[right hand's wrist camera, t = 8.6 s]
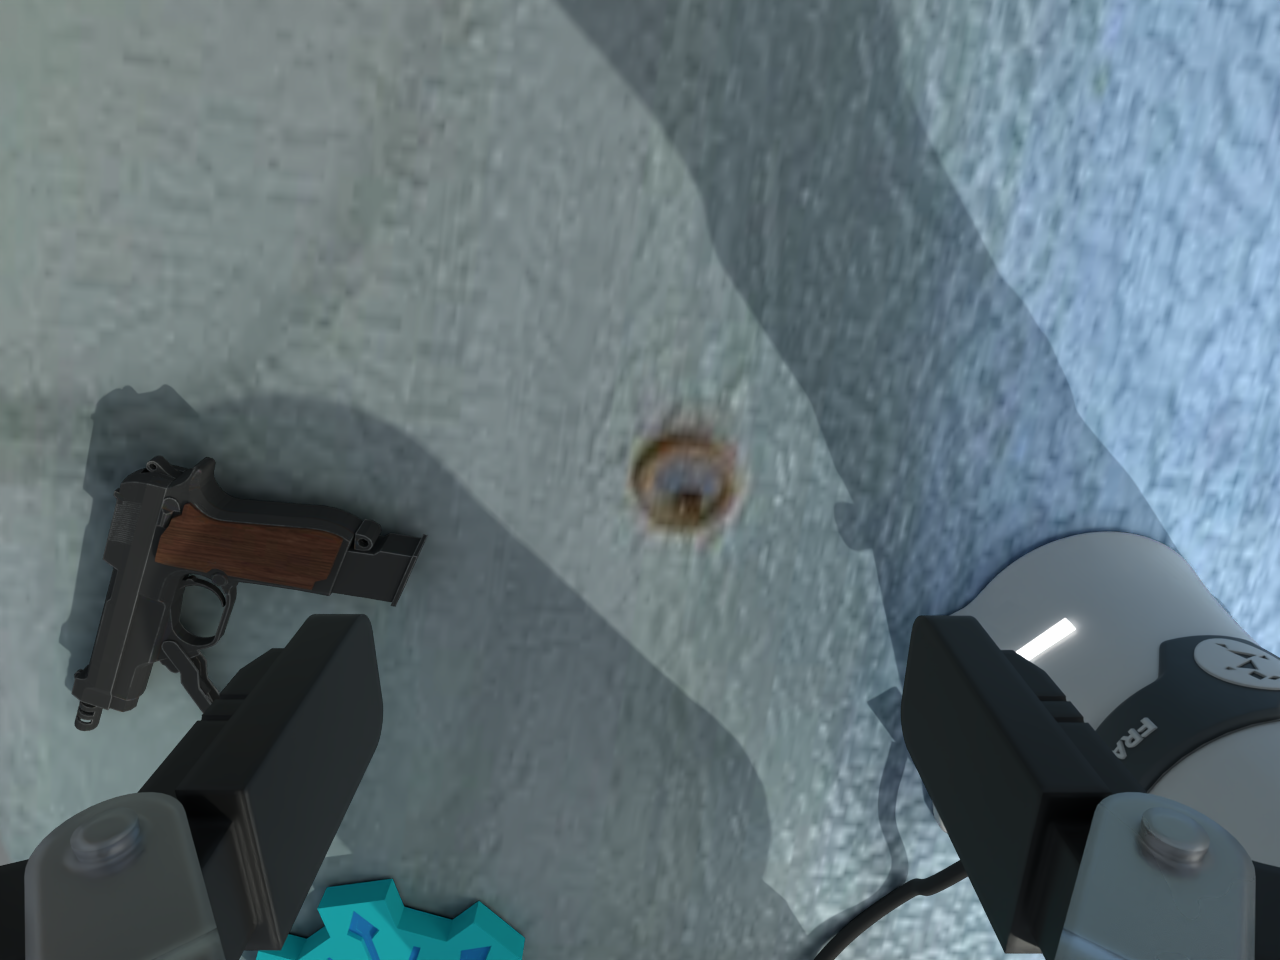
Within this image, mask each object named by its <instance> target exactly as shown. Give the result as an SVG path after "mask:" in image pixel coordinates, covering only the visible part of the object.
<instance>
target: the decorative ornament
mask: <svg viewBox="0 0 1280 960" xmlns="http://www.w3.org/2000/svg"><path fill="white" fill-rule="evenodd" d="M317 909H318V911H319V913H320V916H321V918H322V920H323V922H324V924H325V926H324V927H323V928H321V929H320V930H318V931H317V932H316V933H314V934H313V935H311V936H310V937H309V938H307V939H306V938H302V937H298V936H294V935H290V934H288V936H287V938H286V940H285V943H284V945H283V947H282V949H281V950H259V951H258V954H257V958H256V960H522V955H523V949H524V942H525V938H524V937H523V936H522V935H521V934H519V933H518V932H517V931H516V930H514V929H513V928H512V927H511V926H510V925H508V924H507V923H506V922H505V921H503V920H502V919H501V918H500V917H498V916H497V915H496V914H495V913H493V912H492V911H491V910H490V909H488V908H487V907H486V906H485V905H484V904H482V903H481V902H480V901H478V902H477V903H475V904H474V905H472V906H471V907H470V908H468V909H467V910H465V911H464V912H463V913H461V914H460V915H458V916H457V917H456V918H454V919H453V920H451V919H447V918H444V917H440V916H436V915H433V914H429V913H425V912H422V911H418V910H414V909H411V908H407V907H404V905H403V902H402V900H401V898H400V895H399V893H398V891H397V888H396V886H395V883H394V881H393V879H386V880H378V881H371V882H363V883H356V884H348V885H341V886H333V887H327V888H326V891H325V893H324V895H323V897H322V899H321V902H320V904H319V906H318V908H317Z"/></svg>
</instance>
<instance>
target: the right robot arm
mask: <svg viewBox="0 0 1280 960" xmlns="http://www.w3.org/2000/svg"><path fill="white" fill-rule="evenodd" d="M382 722H383V701H382V694H381V687H380V680H379V673H378V666H377V659H376V652H375V645H374V638H373V631H372V626H371V622H370V620H369V618H368V617H367V616H366V615H364V614H314V615H311V616H310V617H309V618H308V619H307V620H306V621H305V622H304V624H303V625H302V626H301V627H300V629H299V630H298V631H297V633H296V634H295V635H294V637H293V638H292V639H291V640H290V642H289V643H288V644H287V646H286V647H285V648H272V649H270V650H269V651H267V652H266V653H264V654H263V655H261V656H260V657H258V658H257V659H255V660H254V661H252V662H251V663H249V664H248V665H246V666H245V667H243V668H242V669H240V670H239V671H238V673H237V674H236V675H235V676H234V677H233V679H232V680H231V681H230V682H229V683H228V685H227V686H226V687H225V688H224V689H223V691H222V692H221V693H220V694H219V699H215V700H214V701H213V703H212V704H211V705H210V706H209V707H208V709H207V710H206V711H205V712H204V713H203V715H202V720H201V721H197V722H196V723H195V724H194V725H193V727H192V728H191V729H190V730H189V731H188V733H187V734H186V735H185V736H184V737H183V739H182V740H181V741H180V742H179V743H178V745H177V746H176V747H175V748H174V749H173V751H172V752H171V753H170V754H169V755H168V757H167V758H166V759H165V760H164V761H163V763H162V764H161V765H160V766H159V767H158V769H157V770H156V771H155V772H154V773H153V775H152V776H151V777H150V778H149V779H148V781H147V782H146V783H145V784H144V785H143V787H142V788H141V789H140V790H139V791H138V793H133V794H127V795H123V796H119V797H115V798H112V799H109V800H106V801H103V802H101V803H98V804H96V805H94V806H91V807H89V808H87V809H85V810H83V811H82V812H80V813H78V814H76V815H74V816H73V817H71V818H70V819H68V820H66V821H65V822H64V823H62V824H61V825H60V826H58V827H57V828H56V829H54V830H53V831H52V832H51V833H50V834H49V835H48V836H47V837H45V838H44V839H43V840H42V842H41V843H40V844H39V845H38V846H37V847H36V849H35V850H34V852H33V853H32V855H31V856H30V858H29V859H28V860H24V861H19V862H15V863H11V864H7V865H2V866H0V960H239V959H240V957H241V955H242V953H243V951H244V950H281V949H282V947H283V945H284V943H285V940H286V938H287V936H288V934H289V932H290V930H291V928H292V926H293V924H294V921H295V919H296V917H297V915H298V913H299V911H300V909H301V907H302V904H303V902H304V900H305V898H306V896H307V894H308V892H309V890H310V888H311V885H312V883H313V881H314V879H315V877H316V875H317V873H318V871H319V868H320V866H321V864H322V862H323V860H324V858H325V856H326V854H327V851H328V849H329V847H330V845H331V843H332V841H333V839H334V837H335V835H336V832H337V830H338V828H339V826H340V824H341V822H342V820H343V818H344V815H345V813H346V811H347V809H348V807H349V805H350V803H351V801H352V798H353V796H354V794H355V792H356V790H357V788H358V786H359V784H360V782H361V779H362V777H363V775H364V773H365V771H366V769H367V767H368V765H369V762H370V760H371V758H372V756H373V754H374V752H375V750H376V747H377V745H378V742H379V739H380V735H381V729H382ZM901 724H902V731H903V736H904V740H905V744H906V747H907V749H908V751H909V753H910V756H911V758H912V760H913V762H914V764H915V766H916V768H917V770H918V772H919V774H920V776H921V779H922V781H923V783H924V785H925V787H926V789H927V791H928V793H929V795H930V797H931V799H932V802H933V804H934V806H935V808H936V810H937V812H938V814H939V816H940V818H941V820H942V822H943V825H944V827H945V829H946V831H947V833H948V835H949V837H950V839H951V841H952V843H953V846H954V848H955V850H956V852H957V854H958V856H959V858H960V860H961V862H962V864H963V866H964V869H965V871H966V873H967V875H968V877H969V879H970V881H971V883H972V885H973V887H974V889H975V892H976V894H977V896H978V898H979V900H980V902H981V904H982V906H983V908H984V910H985V913H986V915H987V917H988V919H989V921H990V923H991V925H992V927H993V929H994V931H995V933H996V936H997V938H998V940H999V942H1000V944H1001V946H1002V948H1003V950H1004V952H1005V953H1043V955H1044V957H1045V959H1046V960H1280V867H1277V866H1272V865H1268V864H1264V863H1260V862H1256V861H1253V860H1251V858H1250V856H1249V855H1248V853H1247V852H1246V850H1245V849H1244V847H1243V846H1242V845H1241V844H1240V843H1239V842H1238V840H1237V839H1236V838H1235V837H1233V836H1232V835H1231V834H1230V833H1229V832H1228V831H1227V830H1226V829H1224V828H1223V827H1222V826H1220V825H1219V824H1218V823H1216V822H1215V821H1214V820H1212V819H1210V818H1209V817H1207V816H1206V815H1204V814H1202V813H1200V812H1198V811H1197V810H1195V809H1193V808H1191V807H1189V806H1186V805H1184V804H1181V803H1179V802H1177V801H1174V800H1171V799H1168V798H1165V797H1161V796H1157V795H1153V794H1148V793H1147V792H1146V791H1145V790H1144V788H1143V787H1142V786H1141V785H1140V784H1139V782H1138V781H1137V780H1136V779H1135V778H1134V777H1133V775H1132V774H1131V773H1130V772H1129V771H1128V769H1127V768H1126V767H1125V766H1124V765H1123V763H1122V762H1121V761H1120V760H1119V759H1118V757H1117V756H1116V755H1115V754H1114V753H1113V752H1112V750H1111V749H1110V748H1109V747H1108V746H1107V744H1106V743H1105V742H1104V741H1103V740H1102V738H1101V737H1100V736H1099V735H1098V734H1097V732H1096V731H1095V730H1094V729H1093V728H1092V727H1091V725H1090V724H1089V723H1085V722H1084V717H1083V716H1082V715H1081V713H1080V712H1079V711H1078V710H1077V709H1076V707H1075V706H1074V705H1073V704H1072V703H1071V702H1070V701H1066V696H1065V694H1064V693H1063V692H1062V691H1061V690H1060V688H1059V687H1058V686H1057V685H1056V684H1055V682H1054V681H1053V680H1052V679H1051V678H1050V677H1049V675H1048V674H1047V673H1046V672H1045V671H1044V670H1042V669H1041V668H1039V667H1038V666H1036V665H1035V664H1033V663H1032V662H1030V661H1029V660H1027V659H1026V658H1024V657H1023V656H1021V655H1020V654H1018V653H1017V652H1015V651H1014V650H1000V649H999V647H998V646H997V645H996V643H995V642H994V641H993V640H992V638H991V637H990V636H989V634H988V633H987V632H986V631H985V629H984V628H983V627H982V626H981V624H980V623H979V622H978V620H977V619H976V618H974V617H973V616H918V617H917V618H916V620H915V622H914V624H913V628H912V633H911V640H910V647H909V653H908V660H907V667H906V674H905V681H904V688H903V695H902V702H901Z"/></svg>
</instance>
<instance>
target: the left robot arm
mask: <svg viewBox="0 0 1280 960" xmlns="http://www.w3.org/2000/svg"><path fill="white" fill-rule="evenodd" d="M949 616H973V617H974V618H976V619H977V620H978V622H979V623H980V624H981V626H982V627H983V628H984V629H985V631H986V632H987V633H988V634H989V636H990V637H991V638H992V640H993V641H994V642H995V643H996V645H997V646H998V647H999V649H1000V650H1014V651H1015V652H1017V653H1018V654H1020V655H1021V656H1023V657H1024V658H1026V659H1027V660H1029V661H1030V662H1032V663H1033V664H1035V665H1036V666H1038V667H1039V668H1041V669H1042V670H1044V671H1045V672H1046V673H1047V674H1048V675H1049V677H1050V678H1051V679H1052V680H1053V681H1054V682H1055V684H1056V685H1057V686H1058V687H1059V688H1060V690H1061V691H1062V692H1063V693H1064V694H1065V696H1066V701H1070V702H1071V703H1072V704H1073V705H1074V706H1075V707H1076V709H1077V710H1078V711H1079V712H1080V713H1081V715H1082V716H1083V717H1084V722H1085V723H1089V724H1090V725H1091V727H1092V728H1093V729H1094V730H1095V731H1096V732H1097V734H1098V735H1099V736H1100V737H1101V738H1102V740H1103V741H1104V742H1105V743H1106V744H1107V746H1108V747H1109V748H1110V749H1111V750H1112V752H1113V753H1114V754H1115V755H1116V756H1117V757H1118V759H1119V760H1120V761H1121V762H1122V763H1123V765H1124V766H1125V767H1126V768H1127V769H1128V771H1129V772H1130V773H1131V774H1132V775H1133V777H1134V778H1135V779H1136V780H1137V781H1138V782H1139V784H1140V785H1141V786H1142V787H1143V788H1144V790H1145V791H1146V792H1147V793H1148V794H1153V795H1157V796H1161V797H1165V798H1168V799H1171V800H1174V801H1177V802H1179V803H1181V804H1184V805H1186V806H1189V807H1191V808H1193V809H1195V810H1197V811H1198V812H1200V813H1202V814H1204V815H1206V816H1207V817H1209V818H1210V819H1212V820H1214V821H1215V822H1216V823H1218V824H1219V825H1220V826H1222V827H1223V828H1224V829H1226V830H1227V831H1228V832H1229V833H1230V834H1231V835H1232V836H1233V837H1235V838H1236V839H1237V840H1238V842H1239V843H1240V844H1241V845H1242V846H1243V847H1244V849H1245V850H1246V852H1247V853H1248V855H1249V856H1250V858H1251V860H1253V861H1256V862H1260V863H1264V864H1268V865H1272V866H1277V867H1280V658H1279V657H1277V656H1276V655H1274V654H1272V653H1271V652H1269V651H1267V650H1265V649H1263V648H1262V647H1261V646H1260V645H1259V644H1258V643H1257V642H1256V641H1255V640H1254V639H1253V638H1252V637H1251V636H1250V635H1249V634H1248V633H1247V632H1246V631H1245V630H1244V629H1242V627H1241V626H1240V625H1239V624H1238V623H1237V622H1236V621H1235V620H1234V619H1233V618H1232V617H1231V616H1230V615H1229V614H1228V613H1227V612H1226V610H1225V609H1224V608H1223V607H1222V606H1221V605H1220V604H1219V603H1218V602H1217V600H1216V599H1215V598H1214V597H1213V596H1212V594H1211V593H1210V592H1209V590H1208V589H1207V588H1206V587H1205V585H1204V584H1203V583H1202V581H1201V580H1200V578H1199V577H1198V575H1197V574H1196V573H1195V571H1194V570H1193V568H1192V567H1191V566H1190V565H1189V563H1188V562H1187V561H1186V560H1185V559H1184V558H1183V557H1182V556H1181V555H1179V554H1178V553H1177V552H1175V551H1174V550H1173V549H1171V548H1170V547H1168V546H1166V545H1164V544H1162V543H1160V542H1158V541H1156V540H1154V539H1151V538H1148V537H1145V536H1141V535H1137V534H1132V533H1126V532H1115V531H1102V532H1090V533H1083V534H1077V535H1073V536H1069V537H1065V538H1062V539H1058V540H1056V541H1053V542H1050V543H1048V544H1045V545H1043V546H1041V547H1039V548H1037V549H1035V550H1033V551H1031V552H1029V553H1027V554H1025V555H1024V556H1022V557H1020V558H1019V559H1017V560H1016V561H1014V562H1013V563H1011V564H1010V565H1009V566H1008V567H1006V568H1005V569H1004V570H1003V571H1001V572H1000V573H999V574H998V575H997V576H996V577H995V578H994V579H993V580H992V581H991V582H990V583H989V584H988V585H987V586H986V587H985V588H984V589H983V590H982V591H981V592H980V593H979V594H978V596H977V597H976V598H975V599H974V600H973V601H971V602H970V603H969V604H968V605H967V606H966V607H964V608H963V609H961V610H959V611H957V612H955V613H953V614H951V615H949ZM932 804H933V802H932ZM933 813H934V817H935V820H936V821H937V823H938V824H939V826H940V828H941V829H942V830H943V831H944V832H946V833H947V831H946V829H945V827H944V825H943V822H942V820H941V818H940V816H939V814H938V812H937V810H936V808H935V806H934V804H933ZM947 834H948V833H947ZM966 877H968V875H967V873H966V871H965V869H964V866H963V864H962V862H961V860H959V861H958V862H956V863H954V864H952V865H951V866H949V867H947V868H946V869H944V870H942V871H940V872H938V873H936V874H935V875H932V876H930V877H928V878H925V879H912V880H910V881H908V882H907V883H905V884H903V885H902V886H900V887H899V888H897V889H895V890H894V891H892V892H891V893H889V894H888V895H886V896H885V897H883V898H882V899H880V900H879V901H877V902H876V903H875V904H873V905H872V906H870V907H869V908H868V909H866V910H865V911H864V912H862V913H861V914H860V915H858V916H857V917H856V918H855V919H854V920H852V921H851V922H850V923H849V924H848V925H846V926H845V927H844V928H843V929H842V930H841V931H840V932H839V933H838V934H837V935H836V936H835V937H834V938H833V939H832V940H831V941H830V942H829V943H828V944H827V945H826V946H825V947H824V948H823V949H822V950H821V952H820V953H819V954H818V955H817V956H816V958H815V959H814V960H834V959H835V958H836V957H837V956H838V955H839V954H840V953H841V952H842V951H843V950H844V949H845V948H846V947H847V946H848V945H849V944H850V943H851V942H852V941H853V940H854V939H855V938H857V937H858V936H859V935H860V934H861V933H862V932H864V931H865V930H866V929H867V928H869V927H870V926H871V925H873V924H874V923H875V922H877V921H878V920H879V919H881V918H882V917H883V916H885V915H886V914H888V913H889V912H891V911H892V910H894V909H895V908H897V907H898V906H900V905H902V904H903V903H905V902H906V901H908V900H910V899H911V898H913V897H915V896H917V895H924V896H930V895H933V894H935V893H938V892H940V891H942V890H944V889H946V888H948V887H950V886H952V885H954V884H955V883H957V882H959V881H961V880H962V879H964V878H966Z"/></svg>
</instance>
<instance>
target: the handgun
mask: <svg viewBox="0 0 1280 960" xmlns="http://www.w3.org/2000/svg"><path fill="white" fill-rule="evenodd" d="M215 463H216V462H215V460H214V459H212V458H210V457H206V458H204V459H203V460H202V461H201V462H199V463H198V464H197V465H196V466H195V467H193V468H192V469H186V468H183V467H179V466H175V465H171V464H170V463H169V462H168V461H167V460H166V459H165V458H164V457H162V456H156V457H154V458H153V459H152V460H150V461H149V462H148V463H147V465H146V468H144V469H140V470H138V471H136V472H134V473H132V474H130V475H128V476H127V477H126V478H125V479H124V480H123V482H122V483H121V486H120V488H118V489H117V490H115V491H114V496H115V497H116V499H117V502H116V506H115V511H114V515H113V519H112V523H111V527H110V531H109V535H108V539H107V543H106V547H105V552H104V556H103V560H104V561H106V562H107V563H108V564H110V565H111V566H112V567H114V569H113V573H112V577H111V581H110V585H109V589H108V593H107V597H106V600H105V604H104V608H103V612H102V616H101V620H100V624H99V628H98V632H97V636H96V640H95V644H94V648H93V652H92V656H91V660H90V664H89V665H88V666H87V667H86V668H85V669H84V670H82V669H80V670H78V671H77V672H76V673H75V674H74V677H75V682H74V686H73V690H72V694H73V695H74V696H75V697H76V698H77V699H79V700H80V704H79V707H78V711H77V715H76V719H75V727H76V728H77V729H79V730H81V731H90V730H93V729H94V728H96V727H97V726H98V724H99V720H100V716H101V713H102V709H106V710H109V709H110V708H111V709H114V710H117V711H121V712H125V711H129V710H131V709H133V708H134V707H136V706H137V702H138V699H139V696H141V695H142V694H143V693H144V691H145V689H146V686H147V682H148V679H149V676H150V672H151V669H152V666H153V663H154V662H156V661H160V662H161V664H162V665H165V666H166V667H167V668H168V669H169V671H171V672H173V673H178V672H180V674H181V683H182V685H183V686H184V688H185V689H186V691H187V692H188V694H189V695H190V696H191V698H192V699H193V700H194V702H195V703H196V704H197V706H198V707H199V708H200V710H201V711H202V712H203V713H204V712H205V711H206V710H207V709H208V707H209V706H210V705H211V704H212V703H213V701H214V700H215V699H219V694H220V693H219V692H218V690H217V689H216V688H215V686H214V685H213V683H212V682H211V681H210V679H209V678H208V673H207V660H206V659H205V657H204V656H203V654H202V653H201V652H200V650H201V649H205V648H208V647H211V646H213V645H215V644H216V643H217V642H218V641H219V640H220V638H221V637H222V636H223V634H224V632H225V629H226V626H227V623H228V620H229V617H230V614H231V611H232V608H233V605H234V602H235V600H236V594H237V588H236V586H237V584H238V582H244V583H253V584H260V585H267V586H274V587H280V588H287V589H293V590H300V591H305V592H311V593H316V594H321V595H326V596H329V595H330V594H331V593H332V592H333V593H339V594H345V595H351V596H357V597H364V598H370V599H376V600H381V601H387V602H392V604H391V606H396V604H397V602H398V600H399V598H400V596H401V593H402V591H403V589H404V587H405V585H406V582H407V580H408V578H409V576H410V574H411V571H412V569H413V567H414V565H415V562H416V560H417V558H418V556H419V553H420V551H421V549H422V547H423V544H424V542H425V540H426V538H427V536H428V535H425V534H423V536H422V538H418V537H413V536H407V535H401V534H395V533H389V534H387V535H386V536H380V533H381V531H382V530H381V527H380V525H379V524H378V523H376V522H375V521H372V520H367V519H365V520H364V521H362V520H361V519H359V518H358V517H356V516H354V515H352V514H350V513H348V512H345V511H343V510H340V509H337V508H333V507H328V506H321V505H307V504H294V503H282V502H268V501H256V500H245V499H238V498H234V497H232V496H230V495H228V494H226V493H225V492H224V491H223V490H222V489H221V488H220V487H219V485H218V484H217V482H216V480H215V478H214V468H215ZM189 573H194V574H199V575H202V576H205V577H207V578H210V579H211V580H212V582H213V583H214V584H215V585H217V586H221V587H222V589H223V591H224V594H226V600H225V597H224V595H223V593H222V592H221V591H220V590H219V589H218V588H217V587H216V586H215V585H213V584H211V583H209V582H207V581H205V580H202V579H198V578H197V577H195V576H193V575H192V576H190V577H188V576H189ZM190 585H199V586H203V587H205V588H208V589H210V590H211V591H213V592H214V593H215V594H216V595H217V596H218V597H219V599H220V601H221V604H222V607H224V606H225V608H224V611H223V614H222V617H221V620H220V623H219V626H218V629H217V632H216V635H215V636H212V637H198V636H196V635H193V634H191V633H190V632H188V631H187V630H186V629H185V628H184V627H183V626H182V624H181V623H180V613H181V605H182V597H183V592H184V589H185V587H186V586H190ZM80 719H83V720H91V722H83V721H81V720H80Z"/></svg>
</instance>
